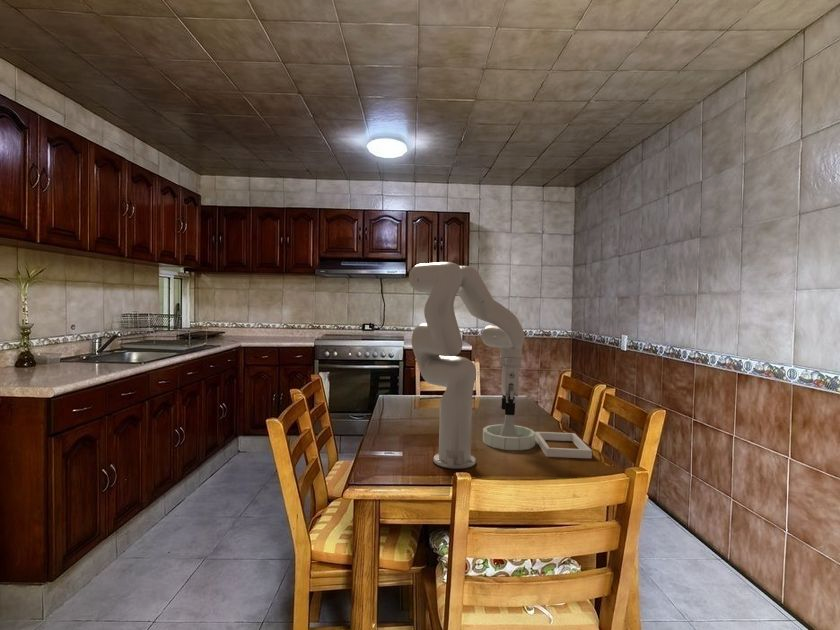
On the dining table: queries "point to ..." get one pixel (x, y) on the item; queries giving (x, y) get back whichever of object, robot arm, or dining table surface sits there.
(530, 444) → the bowl
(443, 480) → the dining table surface
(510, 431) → the flask
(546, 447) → the light grey rectangular frame
